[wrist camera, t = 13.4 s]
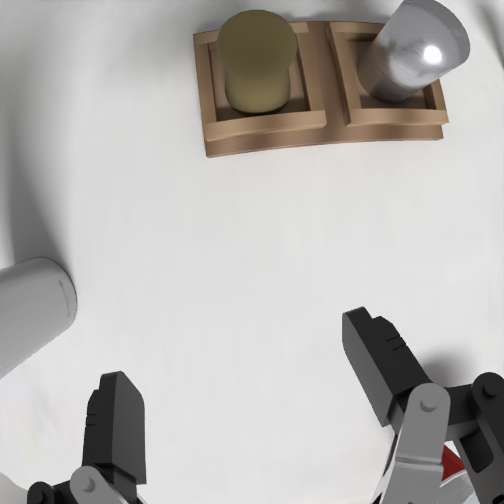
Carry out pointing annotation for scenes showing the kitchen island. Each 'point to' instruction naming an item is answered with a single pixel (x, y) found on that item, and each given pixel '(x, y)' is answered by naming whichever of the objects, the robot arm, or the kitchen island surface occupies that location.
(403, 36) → the steel billet
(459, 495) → the plastic cup
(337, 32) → the brown wooden flat tray
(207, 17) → the kitchen island surface
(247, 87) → the cork
